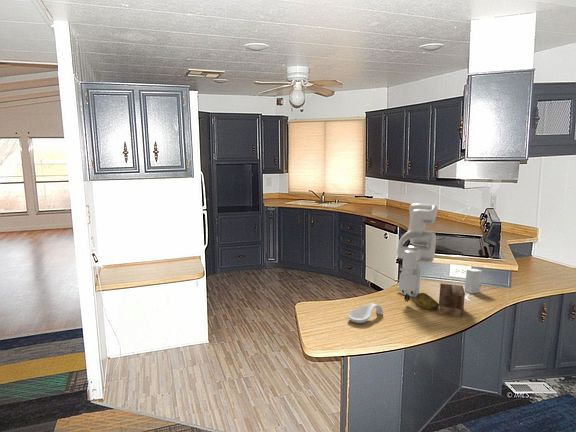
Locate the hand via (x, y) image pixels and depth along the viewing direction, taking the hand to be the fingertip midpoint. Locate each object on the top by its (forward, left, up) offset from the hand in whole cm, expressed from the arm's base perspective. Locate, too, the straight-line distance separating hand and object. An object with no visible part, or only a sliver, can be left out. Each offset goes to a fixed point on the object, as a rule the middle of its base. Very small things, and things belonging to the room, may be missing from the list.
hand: (406, 300), depth 249 cm
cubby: (+24, 0, -3) cm, 24 cm away
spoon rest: (-20, -29, -3) cm, 35 cm away
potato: (+11, 0, -3) cm, 12 cm away
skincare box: (+40, +41, -3) cm, 58 cm away
